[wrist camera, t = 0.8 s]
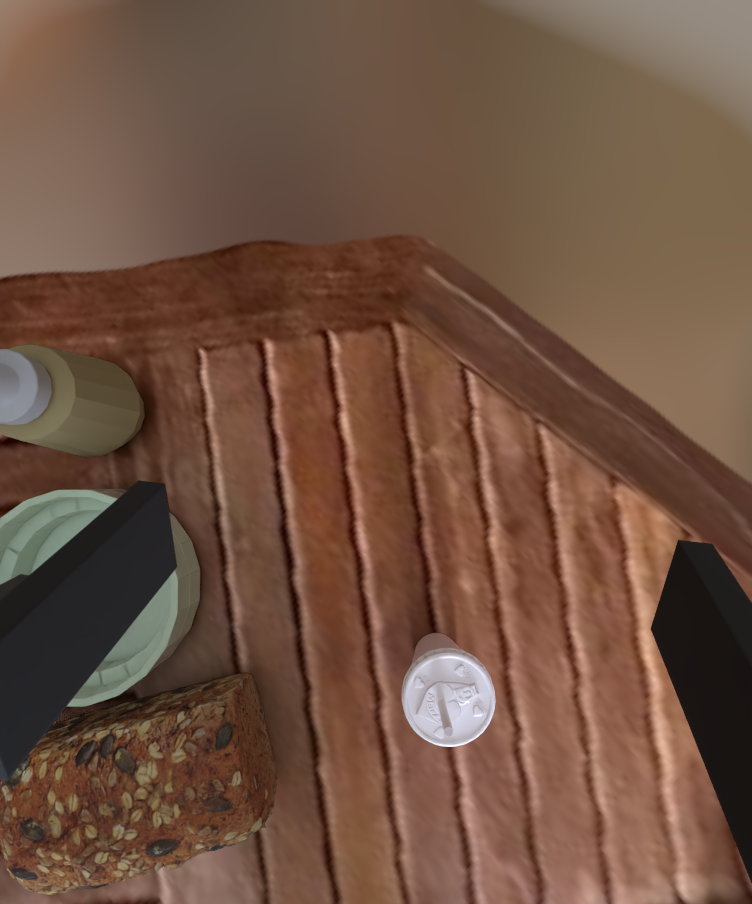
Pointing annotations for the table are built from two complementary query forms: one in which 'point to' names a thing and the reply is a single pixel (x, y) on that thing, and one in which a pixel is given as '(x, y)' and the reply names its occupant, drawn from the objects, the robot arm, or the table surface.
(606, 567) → the table surface
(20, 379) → the squeeze bottle
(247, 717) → the bread
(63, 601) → the robot arm
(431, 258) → the table surface
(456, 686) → the smoothie
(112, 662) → the bowl
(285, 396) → the table surface
